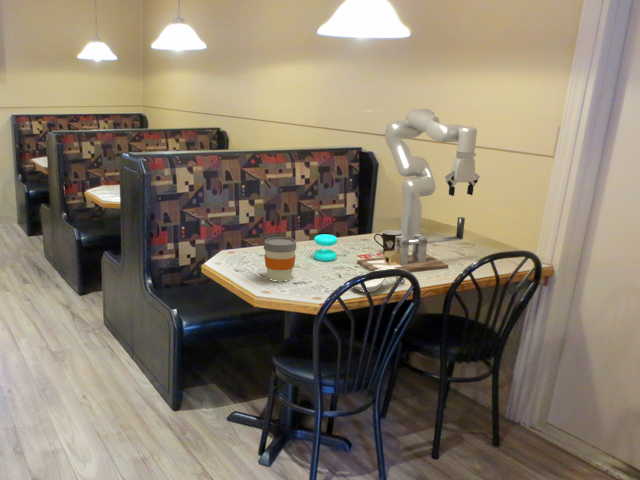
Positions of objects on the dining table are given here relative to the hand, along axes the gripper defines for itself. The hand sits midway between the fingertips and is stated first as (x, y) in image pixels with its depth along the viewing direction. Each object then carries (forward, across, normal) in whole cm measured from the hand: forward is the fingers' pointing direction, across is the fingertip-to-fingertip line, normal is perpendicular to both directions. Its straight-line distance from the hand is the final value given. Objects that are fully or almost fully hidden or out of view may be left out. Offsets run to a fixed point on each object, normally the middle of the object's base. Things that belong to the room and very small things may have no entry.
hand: (460, 194), depth 258 cm
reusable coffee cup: (+29, +85, +6) cm, 90 cm away
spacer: (+27, +35, +6) cm, 44 cm away
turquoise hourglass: (+29, +57, -14) cm, 66 cm away
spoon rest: (+28, +53, +27) cm, 66 cm away
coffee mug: (+29, +26, -13) cm, 41 cm away
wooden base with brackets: (+28, +30, +6) cm, 42 cm away
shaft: (+19, +16, +5) cm, 26 cm away
